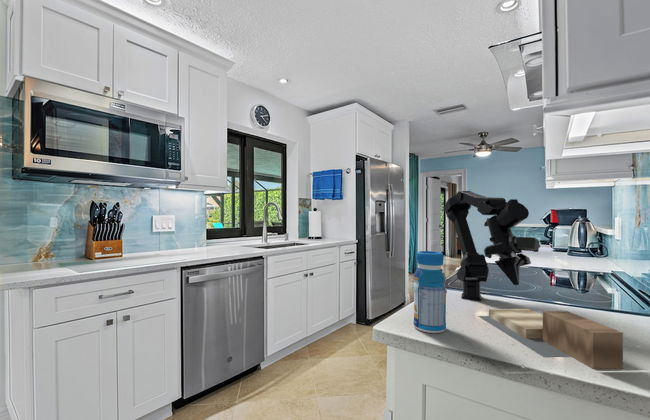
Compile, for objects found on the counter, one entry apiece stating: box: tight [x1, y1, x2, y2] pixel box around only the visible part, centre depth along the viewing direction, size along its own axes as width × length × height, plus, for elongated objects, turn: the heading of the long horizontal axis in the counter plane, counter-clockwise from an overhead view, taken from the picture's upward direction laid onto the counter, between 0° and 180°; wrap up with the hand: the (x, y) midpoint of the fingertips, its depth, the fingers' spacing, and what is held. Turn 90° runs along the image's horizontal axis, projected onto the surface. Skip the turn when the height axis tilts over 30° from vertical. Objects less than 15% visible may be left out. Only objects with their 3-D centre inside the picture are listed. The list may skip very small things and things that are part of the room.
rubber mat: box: [477, 315, 572, 358], centre depth 77 cm, size 26×15×1 cm, turn 2°
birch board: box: [488, 308, 543, 338], centre depth 81 cm, size 16×12×2 cm
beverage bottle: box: [412, 250, 448, 334], centre depth 80 cm, size 8×8×20 cm
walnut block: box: [542, 310, 624, 370], centre depth 66 cm, size 7×6×13 cm
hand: (516, 285), depth 86 cm, fingers closed
